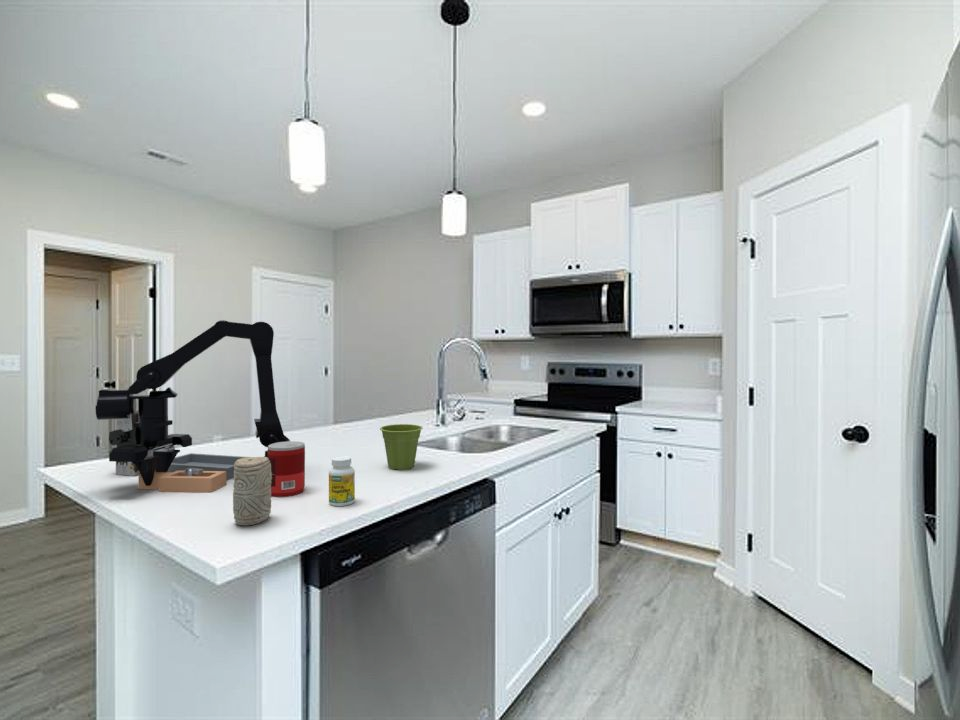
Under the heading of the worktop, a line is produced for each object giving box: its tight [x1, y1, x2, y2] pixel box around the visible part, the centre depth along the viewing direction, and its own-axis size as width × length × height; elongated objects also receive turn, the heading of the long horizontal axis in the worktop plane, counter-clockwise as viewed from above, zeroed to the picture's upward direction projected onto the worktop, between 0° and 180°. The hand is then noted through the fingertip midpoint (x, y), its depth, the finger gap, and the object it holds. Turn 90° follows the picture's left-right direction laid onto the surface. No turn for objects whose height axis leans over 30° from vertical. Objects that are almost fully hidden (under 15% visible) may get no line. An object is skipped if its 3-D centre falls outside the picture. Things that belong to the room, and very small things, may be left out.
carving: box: [232, 456, 272, 526], centre depth 90 cm, size 6×8×12 cm
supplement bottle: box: [328, 455, 356, 507], centre depth 101 cm, size 5×5×10 cm
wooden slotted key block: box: [137, 471, 228, 493], centre depth 111 cm, size 18×6×3 cm, turn 89°
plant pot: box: [379, 423, 424, 471], centre depth 132 cm, size 12×12×11 cm
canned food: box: [267, 440, 306, 498], centre depth 108 cm, size 8×8×11 cm
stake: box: [184, 468, 203, 476], centre depth 110 cm, size 4×2×5 cm, turn 78°
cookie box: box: [115, 409, 151, 477], centre depth 125 cm, size 9×6×16 cm
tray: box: [155, 452, 253, 481], centre depth 125 cm, size 22×12×3 cm, turn 78°
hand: (154, 483), depth 111 cm, fingers closed on wooden slotted key block, 3 cm apart
